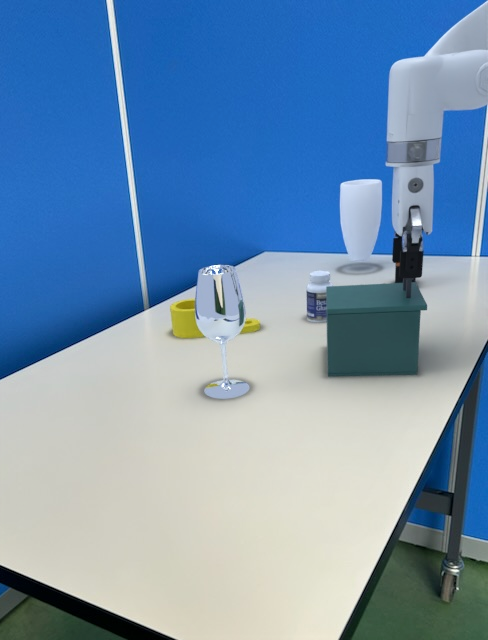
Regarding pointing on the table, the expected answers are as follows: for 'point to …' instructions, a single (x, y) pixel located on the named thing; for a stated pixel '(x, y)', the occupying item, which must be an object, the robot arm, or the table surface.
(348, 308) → the chest lid
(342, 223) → the cup
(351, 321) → the cool chest
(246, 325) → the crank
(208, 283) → the wineglass
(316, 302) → the pill bottle
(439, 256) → the table surface
